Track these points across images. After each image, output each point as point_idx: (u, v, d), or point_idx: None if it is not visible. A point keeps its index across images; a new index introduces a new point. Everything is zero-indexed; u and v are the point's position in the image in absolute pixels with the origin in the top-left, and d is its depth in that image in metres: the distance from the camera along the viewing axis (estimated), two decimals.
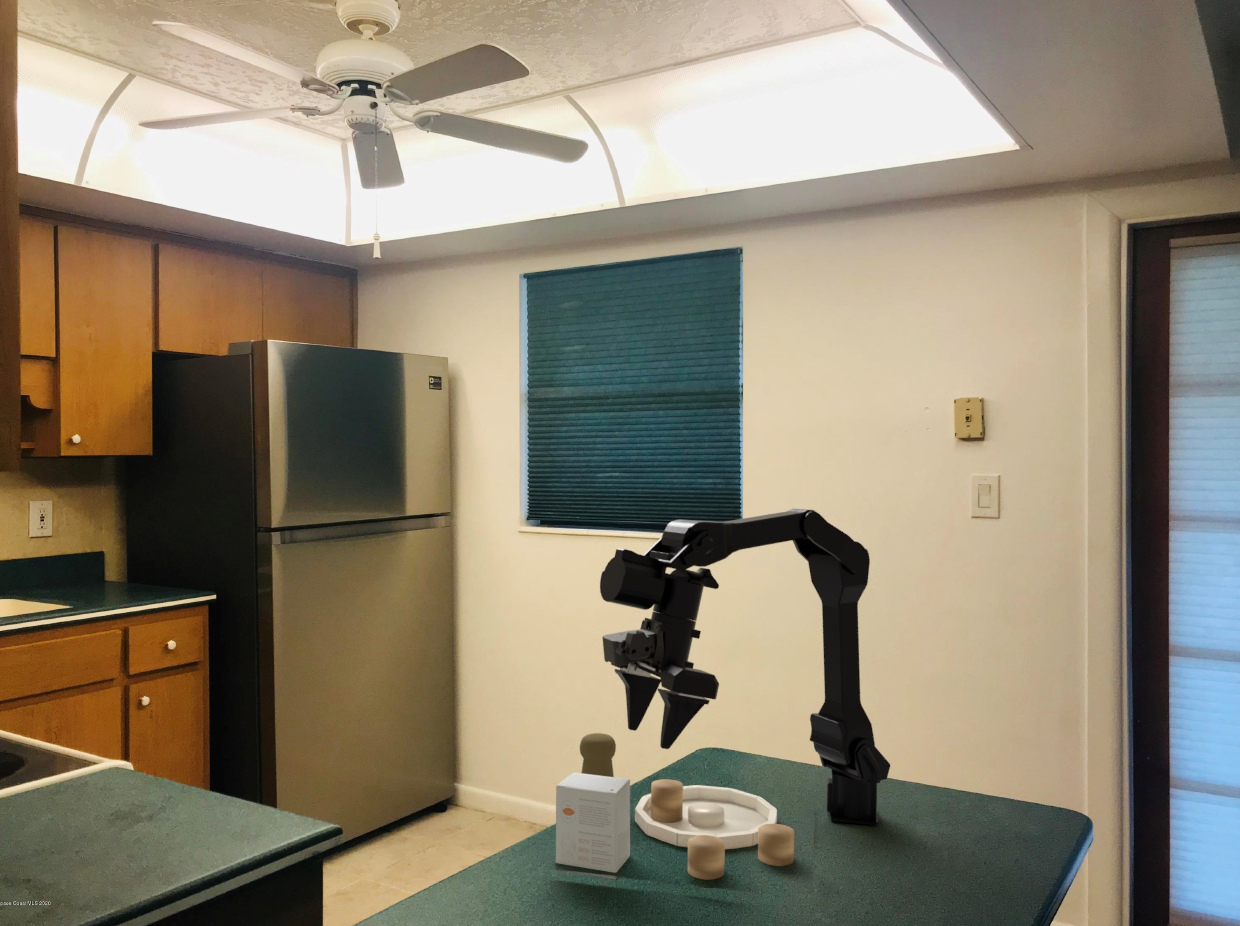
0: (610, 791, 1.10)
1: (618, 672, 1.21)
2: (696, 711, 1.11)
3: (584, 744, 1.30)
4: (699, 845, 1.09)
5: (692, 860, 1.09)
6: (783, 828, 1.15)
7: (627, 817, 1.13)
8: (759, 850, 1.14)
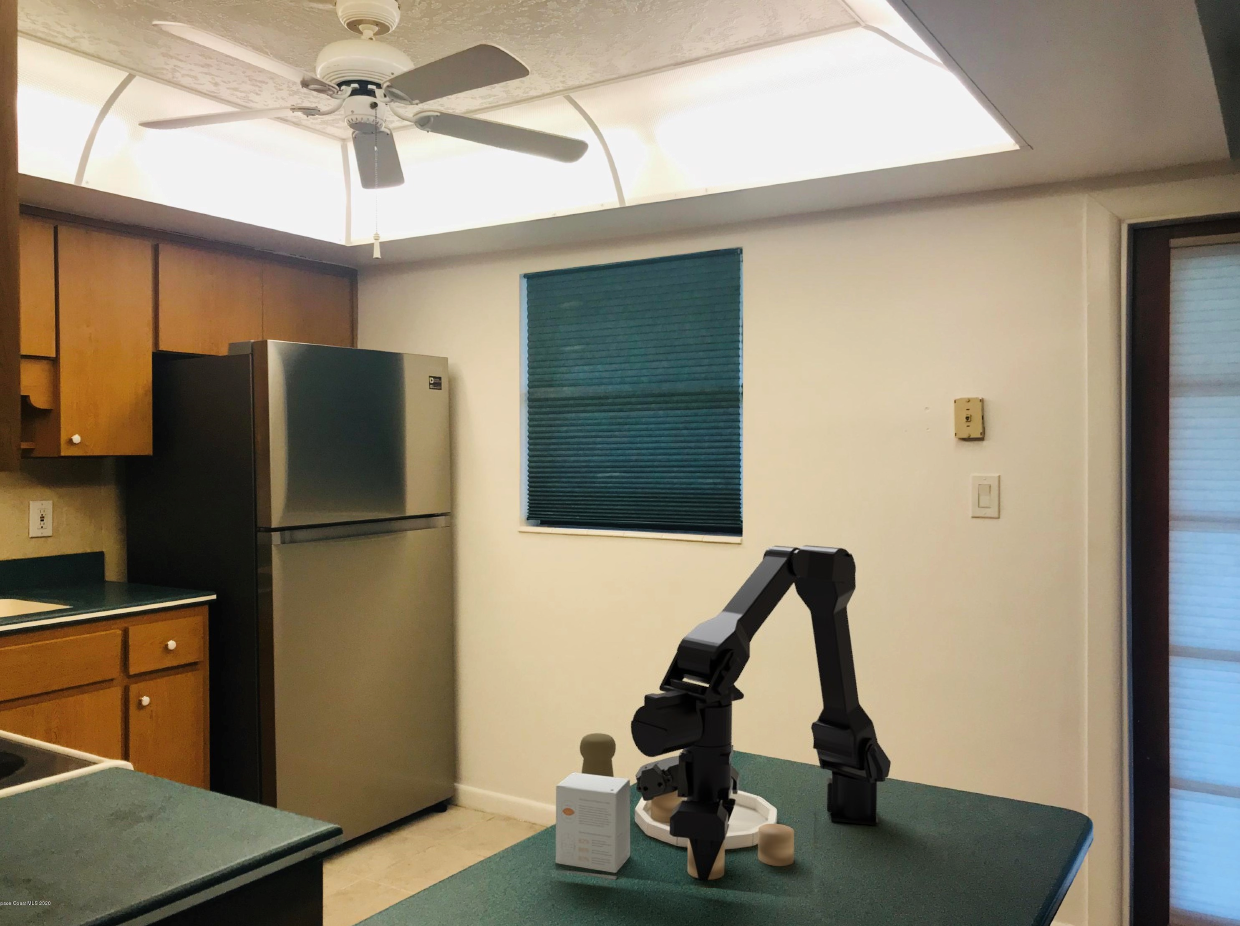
0: (609, 791, 1.10)
1: None
2: (720, 842, 1.06)
3: (584, 744, 1.30)
4: None
5: (692, 860, 1.09)
6: (783, 828, 1.15)
7: (627, 817, 1.13)
8: (759, 850, 1.14)
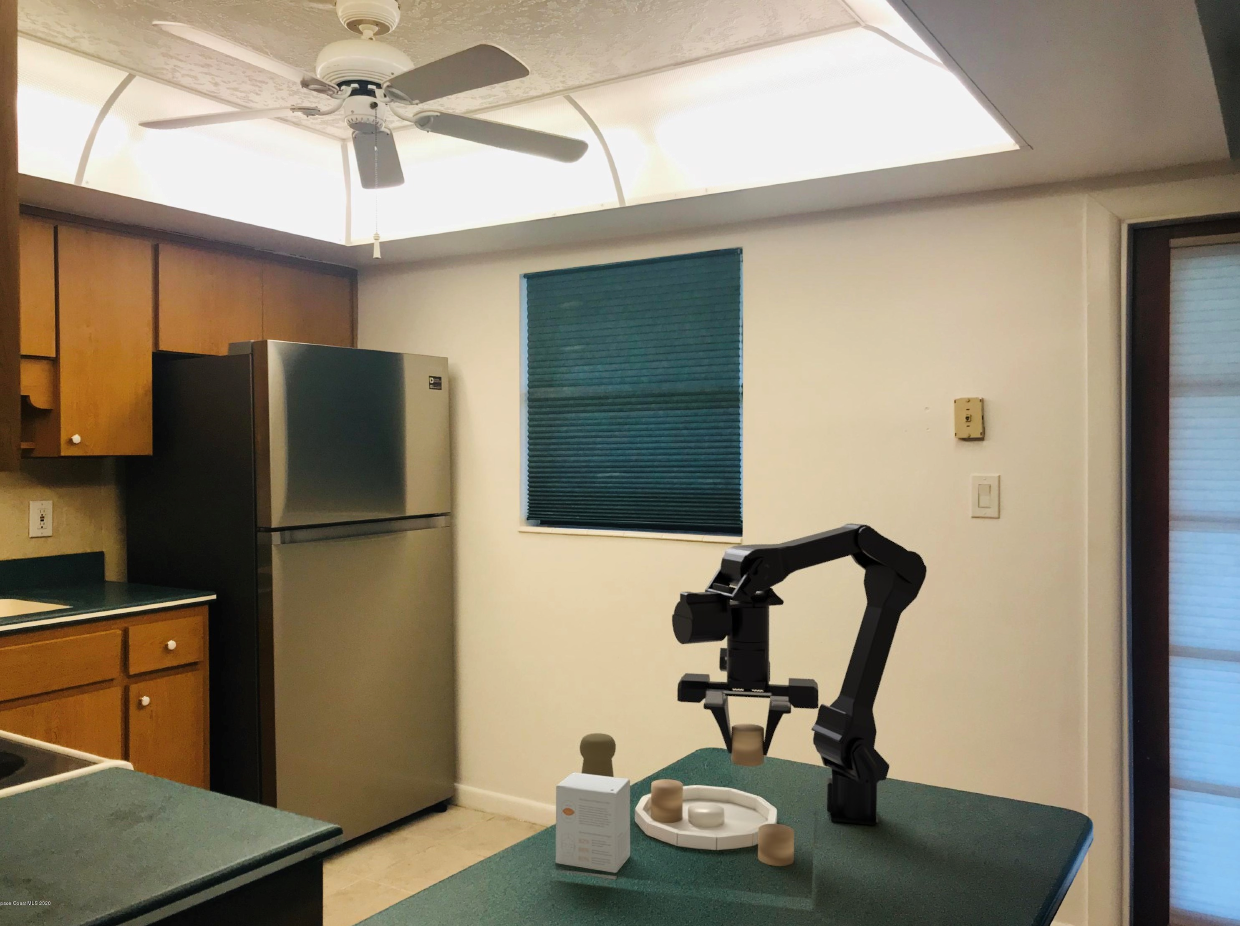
0: (610, 791, 1.10)
1: None
2: (715, 717, 1.23)
3: (584, 744, 1.30)
4: (739, 726, 1.26)
5: None
6: (783, 828, 1.15)
7: (627, 817, 1.13)
8: (759, 850, 1.14)
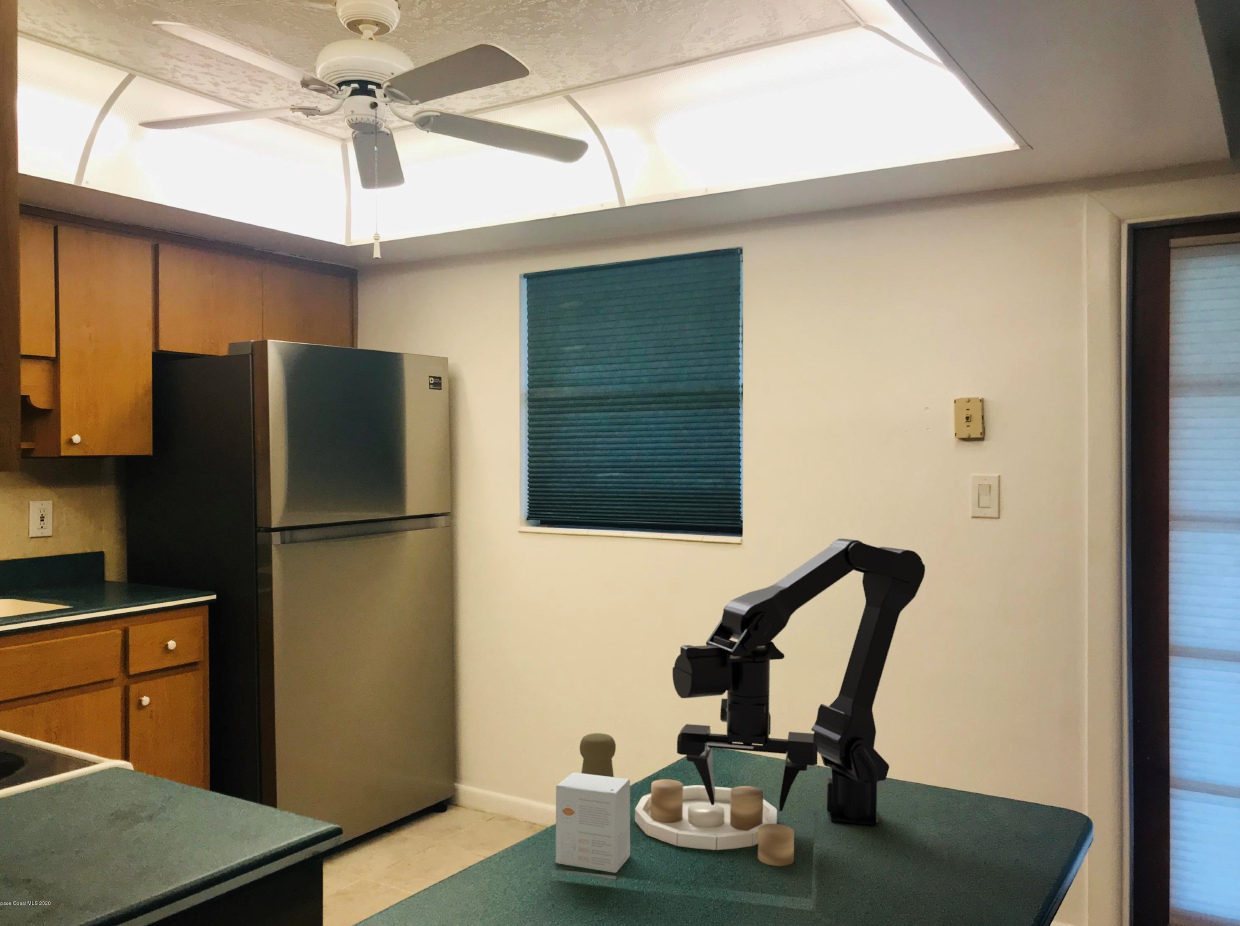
0: (609, 791, 1.10)
1: None
2: (697, 769, 1.24)
3: (584, 744, 1.30)
4: (738, 789, 1.26)
5: None
6: (783, 828, 1.15)
7: (627, 817, 1.13)
8: (759, 850, 1.14)
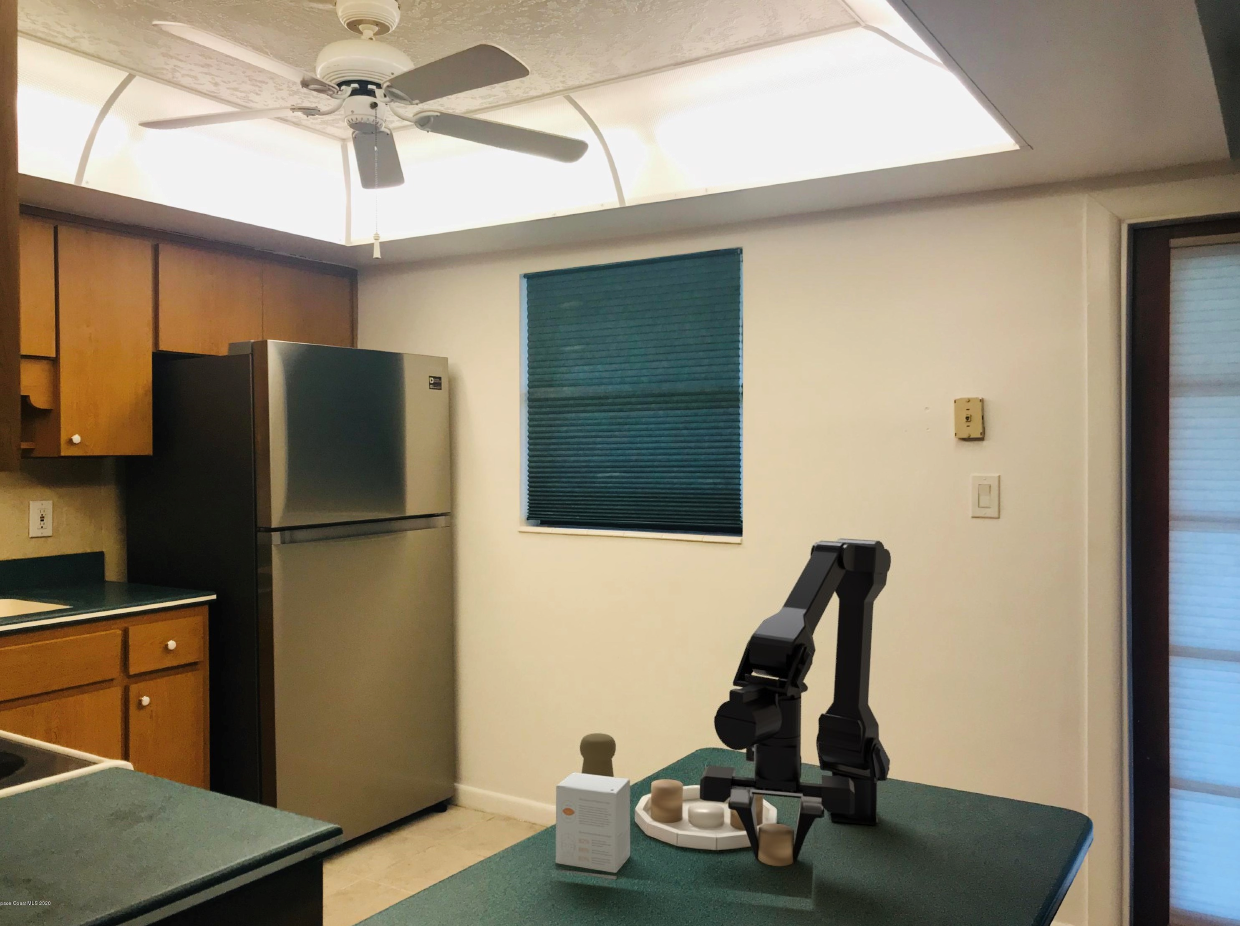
0: (610, 791, 1.10)
1: None
2: None
3: (584, 744, 1.30)
4: None
5: None
6: (783, 828, 1.15)
7: (627, 817, 1.13)
8: (759, 849, 1.14)
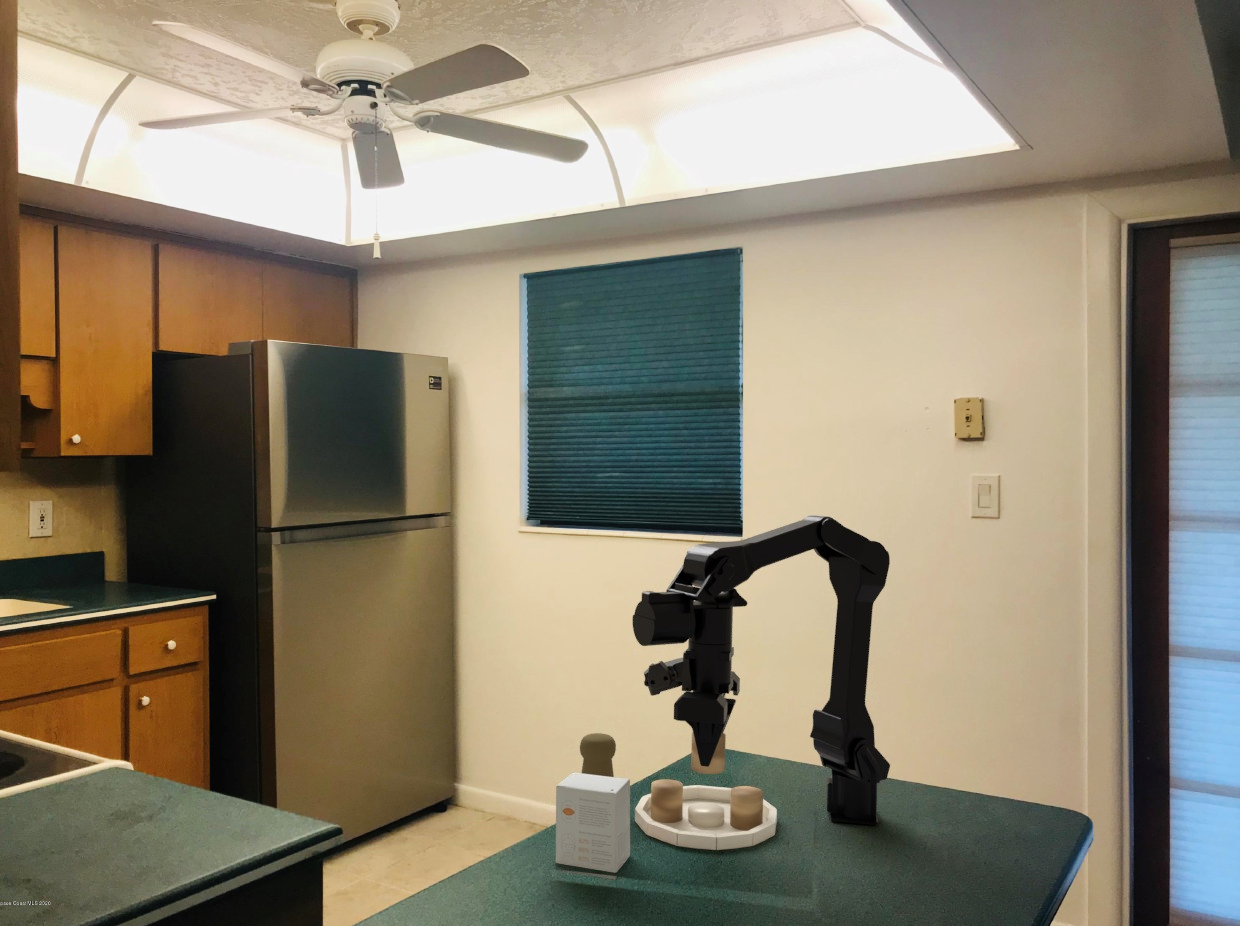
0: (610, 791, 1.10)
1: None
2: (720, 730, 1.16)
3: (584, 744, 1.30)
4: (738, 789, 1.26)
5: None
6: None
7: (627, 817, 1.13)
8: (713, 757, 1.18)
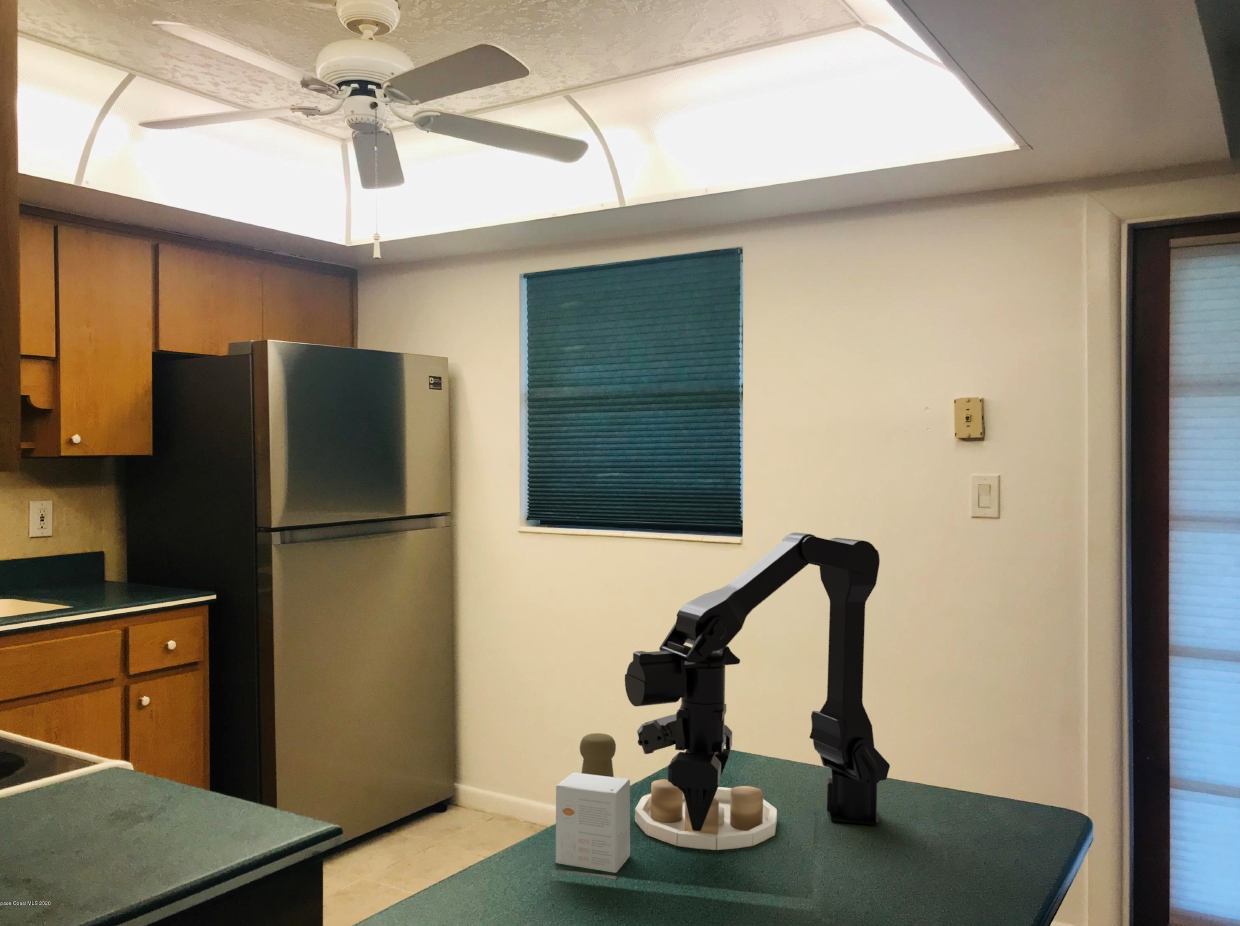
0: (609, 791, 1.10)
1: None
2: (712, 795, 1.14)
3: (584, 744, 1.30)
4: (738, 789, 1.26)
5: None
6: None
7: (627, 817, 1.13)
8: (706, 825, 1.19)
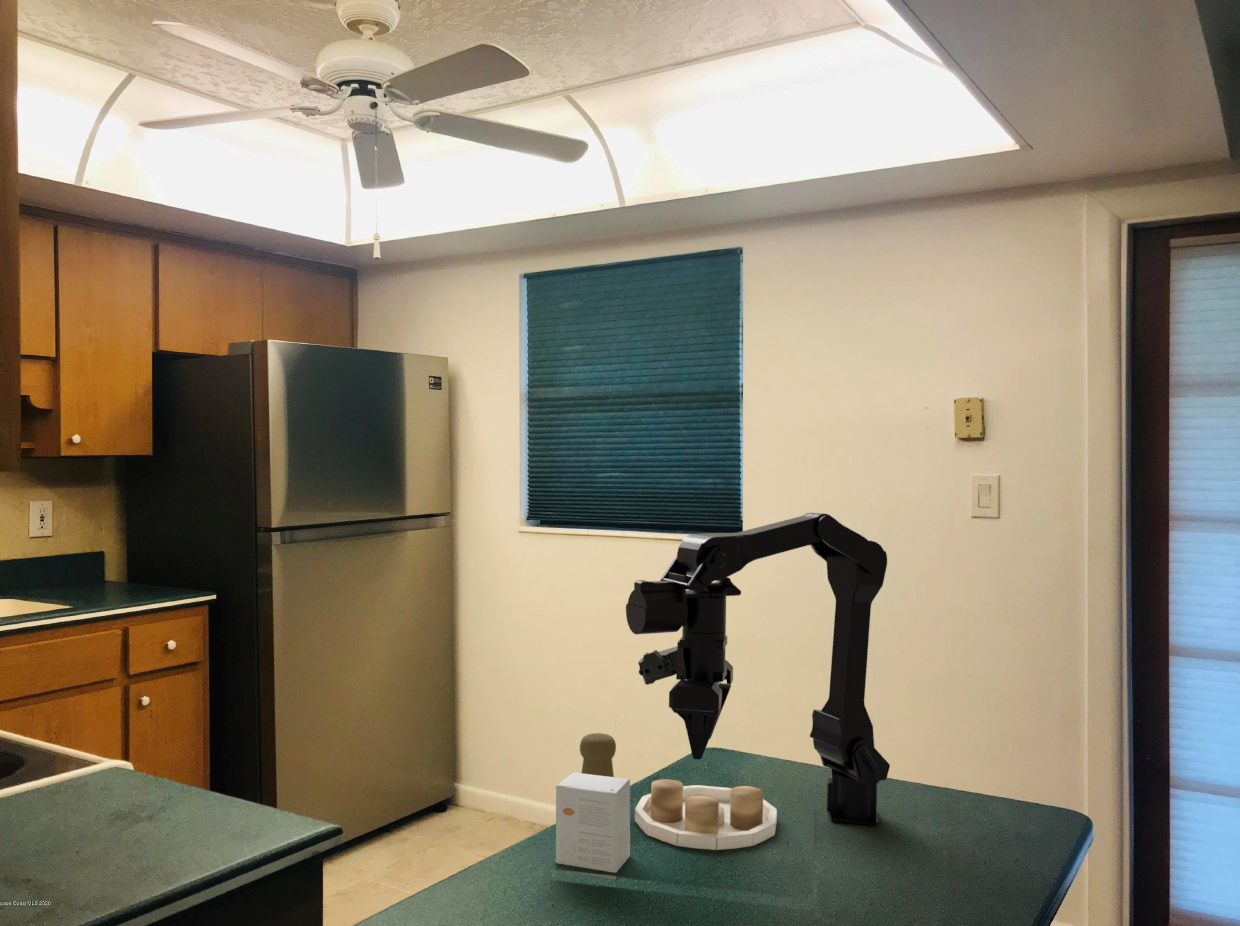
0: (610, 791, 1.10)
1: None
2: (713, 722, 1.14)
3: (584, 744, 1.30)
4: (738, 789, 1.26)
5: None
6: (696, 799, 1.22)
7: (627, 817, 1.13)
8: (706, 825, 1.19)
